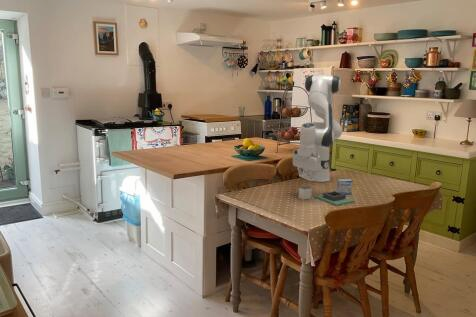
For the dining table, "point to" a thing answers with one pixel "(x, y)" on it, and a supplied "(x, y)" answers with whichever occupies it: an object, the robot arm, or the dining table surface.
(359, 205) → the dining table surface
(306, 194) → the keyed plug
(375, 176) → the dining table surface
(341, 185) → the medicine box
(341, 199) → the header board
